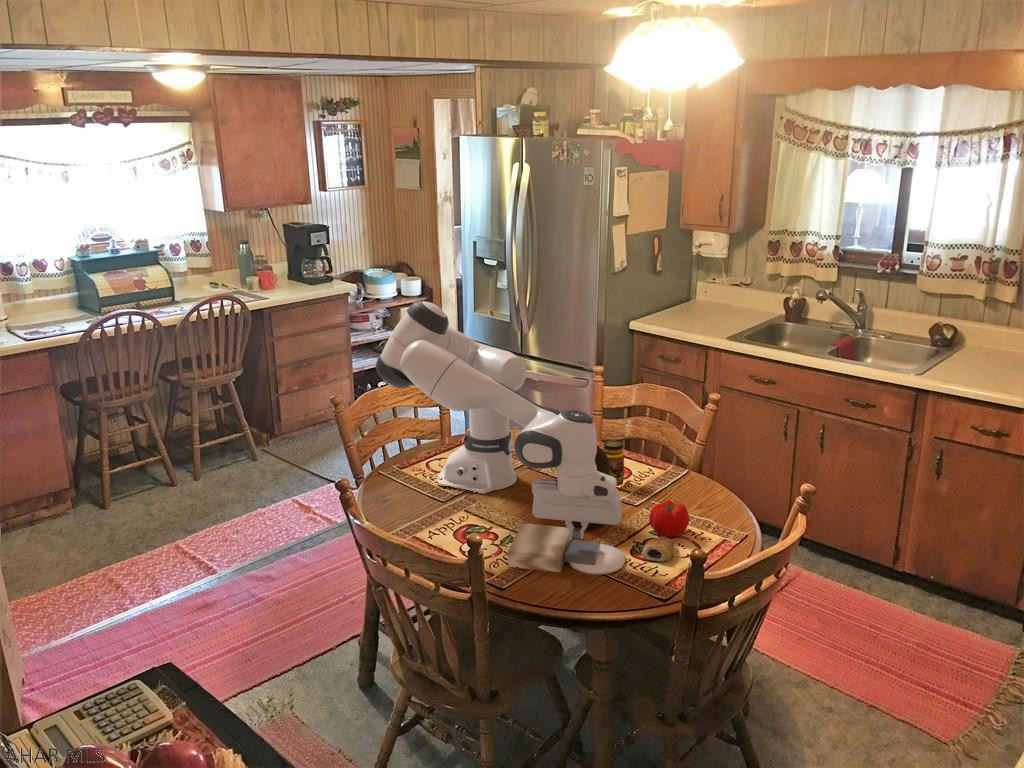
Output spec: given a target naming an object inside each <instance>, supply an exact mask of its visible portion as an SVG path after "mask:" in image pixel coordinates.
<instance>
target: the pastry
mask: <svg viewBox="0 0 1024 768" xmlns="http://www.w3.org/2000/svg"><path fill="white" fill-rule="evenodd" d="M674 552H675V543H674V541H673V540H672V539H671V538H670V537H663V536H659V537H654V538H651V539H649V540H648V541H647V542H645V544H644V545H643V549H642V551H641V556H642V557H643V559H645V560H648V561H653V562H660V563H664V562H668V561H670V560H672V558H673V555H674Z"/></svg>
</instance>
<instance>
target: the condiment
mask: <svg viewBox="0 0 1024 768" xmlns="http://www.w3.org/2000/svg"><path fill="white" fill-rule="evenodd" d="M623 445H624V444H623V442H621V441H619V440H607V441H605V442H604V443H603V449H602V450H603V451H604V452H605V453H606V455H607V457H608V459H609V463H610V474H609V476H612V477H614V478H616V480H617V486H619V485H622V484H623V481H624V479H625V453H624V446H623Z"/></svg>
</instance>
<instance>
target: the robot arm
mask: <svg viewBox="0 0 1024 768" xmlns="http://www.w3.org/2000/svg"><path fill="white" fill-rule="evenodd" d="M449 325H450V323H449V318H448V316H447V314H446V313H445V312H444V311H443V310H442V308H441V307H440V306H438V305H436V304H435V303H432V302H430V301H425V300H417V301H414V302H413V303H412V304H411V305H409V307H408V308H407V309H406V312H405V314H404V315H403V316H402V318H401V319H400V320H399V322H398V323H397V324H396V325H395V327H394V329H393V330H392V332H391V334H390V335H389V338H388V339H387V342H386V343H385V346H384V347H383V349H382V352H381V354H379V355H378V358H377V359H376V361H375V362H376V363H375V370H376V373H377V375H378V377H380V378H381V380H383V381H384V382H385V383H386V384H388V385H390V386H392V387H395V388H398V389H405V388H410V387H411V386H415V387H417V389H419V390H420V391H421V392H422V393H424V394H425V395H426V396H428V397H429V398H431V399H432V400H434V401H435V402H436V403H438V404H439V405H441V406H442V407H444V408H445V409H449V410H451V411H453V412H467V411H468V416H469V419H468V421H469V428H468V429H467V430H465V434H464V435H463V438H462V439H461V443H462V444H463V445H462V446H461V447H459V448H458V449H456V450H455V451H453V453H451V454H450V455H449V456H448V458H447V459H446V461H445V464H444V469H442V470H441V471H440V472H439V474H438V475H437V478H436V483H437V482H438V483H440V484H445V485H449V486H454V487H458V488H462V489H467V490H470V491H473V492H472V493H476V492H478V493H477V494H481V493H482V494H488V493H490V492H492V491H497V490H502V489H507V488H509V487H511V486H512V485H514V484H515V483H517V480H518V479H517V475H516V472H515V469H514V466H513V464H514V463H513V459H512V450H514V453H515V456H516V458H517V459H518V460H519V462H520V463H522V464H523V465H524V466H526V467H528V468H531V469H551V468H556V479H554V478H553V479H551V478H549V479H548V478H546V479H545V478H543V477H542V478H538V479H537V480H536V479H535V480H534V481H533V482H532V483H531V493H532V495H533V500H532V501H533V502H532V515H533V516H534V518H536V519H543V520H544V519H545V520H546V519H547V520H555V521H557V520H558V521H564V522H565V523H564V525H565V527H567V528H568V529H569V531H570V538H572V539H573V538H574V539H584V536H585V531H586V530H585V529H586V527H587V526H588V523H599V524H606V525H611V526H617V525H619V523H621V521H622V517H623V508H622V507H623V505H622V499H621V494H620V492H619V491H618V490H616V486H617V480H616V478H614V477H612V476H609V475H606V474H604V473H601V472H599V471H597V467H596V464H595V456H596V452H597V445H598V443H597V442H598V441H597V430H596V425H595V421H594V419H593V418H592V416H591V415H589V414H587V413H586V412H584V411H581V410H577V409H566V410H562V411H561V410H558V409H555V408H552V407H547V406H543V405H540V404H538V403H536V402H534V401H533V400H531V399H529V398H527V397H526V396H524V395H523V394H521V393H519V392H517V391H518V390H519V389H520V388H521V387H522V386H523V385H524V383H525V382H526V378H527V374H528V373H527V366H526V363H525V362H524V360H523V359H522V358H521V357H519V356H517V354H514V353H513V352H511V351H509V350H504V349H501V348H498V347H495V346H491V345H488V344H484V343H481V342H478V341H476V340H474V339H472V338H470V337H469V336H468V335H467V334H465V333H463V332H461V331H459V330H456V329H454V328H452V327H450V326H449ZM510 420H511V421H512V422H514V423H516V424H518V425H519V426H520V427H522V428H523V429H522V430H521V431H520V433H518V435H517V436H516V439H515V440H514V449H513V440H512V432H511V431H510ZM438 478H441V479H442V478H443V479H442V480H438ZM470 491H469V492H470ZM572 521H577V522H581V525H582V528H581V529H580V528H576V527H574V526H573V525H572Z"/></svg>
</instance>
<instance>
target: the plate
mask: <svg viewBox="0 0 1024 768" xmlns="http://www.w3.org/2000/svg"><path fill="white" fill-rule="evenodd" d="M625 563H626V557H625V554H624V552H622V551H621V550H620V549H619V548H617V547H615V546H612V545H610V544H604V543H600V552H599V555H598V558H597V561H596V564H595V565H587V564H578V563H568V564H569V566H570V567H571V568H572V569H573V570H576V571H577V572H580V573H583V574H587V575H595V576H596V575H597V576H599V575H601V576H602V575H608V574H613V573H615V572H618V571H619V570H620V569H622V568H623V567H624V566H625Z"/></svg>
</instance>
